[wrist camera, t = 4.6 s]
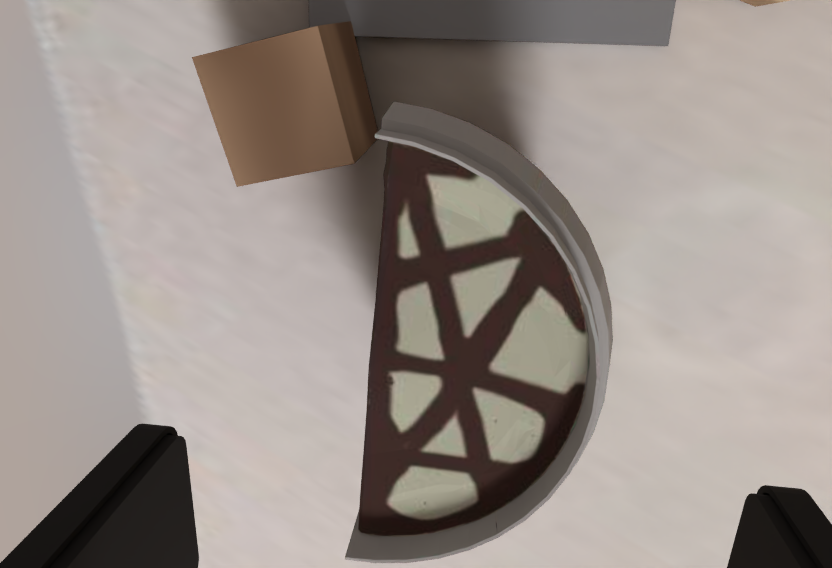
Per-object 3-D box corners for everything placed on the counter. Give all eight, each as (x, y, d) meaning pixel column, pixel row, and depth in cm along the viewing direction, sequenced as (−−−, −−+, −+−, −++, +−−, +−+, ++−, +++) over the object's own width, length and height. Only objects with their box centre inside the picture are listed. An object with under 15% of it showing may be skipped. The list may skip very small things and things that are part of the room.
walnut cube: (350, 21, 21) (317, 25, 17) (379, 137, 22) (354, 163, 19) (245, 47, 22) (191, 57, 18) (279, 157, 23) (236, 186, 19)
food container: (546, 413, 25) (571, 617, 16) (401, 390, 26) (343, 574, 16) (608, 108, 21) (691, 141, 12) (432, 88, 21) (376, 107, 12)
